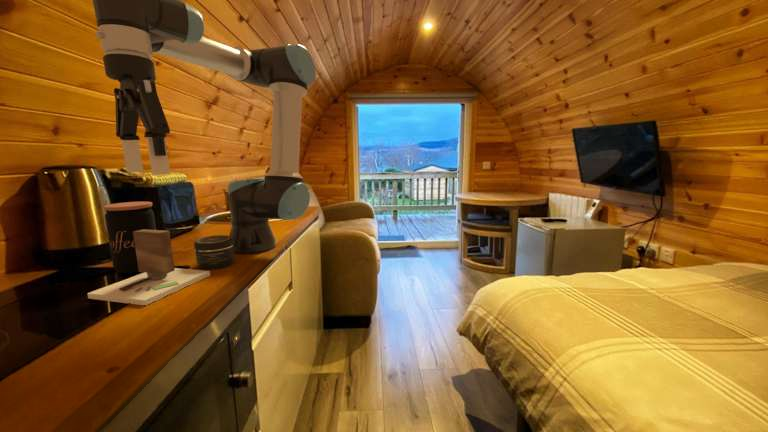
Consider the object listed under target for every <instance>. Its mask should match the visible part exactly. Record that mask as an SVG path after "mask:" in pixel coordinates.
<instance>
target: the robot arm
mask: <svg viewBox="0 0 768 432" xmlns="http://www.w3.org/2000/svg"><path fill="white" fill-rule="evenodd" d="M92 5H93V10H94V15H95V21H96V24H97V25H96V26H97V30H98V31H95V32H94V36H95V37H96V38H98V39H100V46H101V47H100V48H101V51H102V52H103V54H104V55H103V56H102V60H103V66H104V67H103V68H104V71H105V75H106V77H107V78H108V79H111V80H114V81H118V82H119V84H120V85H119V88H118V87H114V89H113V93H114V101H115V103H114V104H115V106H114V107H115V135H116V137H117V138H119V140H121V146H122V151H123V159H124V163H125V168H126V173H127V174H128V173H129V174H130V173H142V172H144V168H143V167H144V166H143V160H142V154H141V148H140V143H139V141H140V137H139V135H137V131H138V125H139V123H138V122H139V118H140V121H141V123H142V125H143V127H144V129H145V131H144V135H143V137H144V138H146V143H147V150H148V157H149V161H150V162H149V163H150V170H151V175H152V176H155V175H156V176H158V175H169V174H171V167H170V162H169V156H168V151H167V150H168V148H167V141H166V138H167V134H170V133H171V129H170V126H169V124H168V120H167V118H166V115H165V112H164V109H163V107H162V103H161V101H160V98H159V95H158V91H157V86H156V85H157V84H156V80H157V78H156V77H157V76H156V70H155V64H154V61H152V58H153V57H154V54H153V53H155V54H159V55H161V56H165V57H169V58H172V59H174V60H177V61H178V60H179V61H182V62H185V63H189V64H192V65H195V66H199V67H202V68H204V69H205V68H206V69H209V70H212V71H216V72H219V73H223V74H226V75H228V76H229V77H230V78H231V79H232V80H235V81H238V82H242V83H245V84H249V85H251V86H252V85H253V86H256V87H260V88H266V89H267V88H268V89H269V91H271V93H272V94H273V102H272V103H273V104H272V105H273V106H272V122H271V123H272V124H271V125H272V127H271V144H270V147H271V148H270V166H269V167H270V169H269V171H268V172H267V173H266V174H264V177H255V178H247V179H239V180H233V181H230V182H229V183H228V186H227V189H228V190H227V191H228V192H227V198H228V206H229V214H230V216H229V217H230V222H231V223H230V225H231V229H230V232H229V235H228V236H231V237H232V238H233V243H234V254H255V253H260V252H265V251H268V250H271V249H273V248H275V247H276V246H277V244H276V243H277V242H276V238H275V235H274V233H273V230H272V227H271V226H270V221H269V219H271V220H273V219H274V220H282V221H291V220H292V221H295V220H298V219H300V218H302V217H303V216H304V215H305V213H306V212H307V210H308V208H309V205H310V201H311V193H310V191H309V186H307V184H306V183H304V177H303V176H302V175H301V174H300V172H299V171H300V170H299V167H300V150H301V146H300V145H301V129H302V128H301V127H302V109H303V108H302V106H303V104H302V103H303V98H304V97H305V96H306V95H307V94H308V86H309V85H310V86H311V85H312V84H314V82H315V81H316V77H317V71H316V65H315V62H314V59H313V57H312V54H311V53H310V51H309V50H308V49H307V48H306V47H305V46H304V45H302V44H300V43H294V44H293V43H291V44H290V43H287V44H286V45H280V46H273V47H266V48H256V49H247V48H244V47H242V46H235V47H231V46H229V45H226V44H225V43H224V44H223V43H221V42H218V41H216V40H214V39H210V38H209V37H208V38H207V37H206V36H204V33H205V24H204V22H205V21H204V19H203V18H204V17H203V15H202V14H201V13H200V12H199V10H198V9H197V8H195V7H194V6H192V5H189V4H188V3H186V2H184V1H183V0H92Z"/></svg>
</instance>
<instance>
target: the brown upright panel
mask: <svg viewBox="0 0 768 432" xmlns="http://www.w3.org/2000/svg"><path fill="white" fill-rule="evenodd" d="M133 236H134V242H135V249H136V256H137V262H138V269H139V272H138V273H144V272H147V277H148V278H145V279H143V280H140V281H137V282H135V283H132V284H130V285H127V286H124V287H122V288H119V290H122V291H123V290H125V289H128V288H130V287H133V286H135V285H138V284H141V283H143V282H146V281H148V280H156V279H161V278H164V277H166V276H167V273H170V272H172V271H175V269H174V268H175V263H174V262H175V261H174V255H173V249H172V241H171V233H170V230H164V229H163V230H159V229H156V230H146V229H142V230H138V231H134V232H133Z"/></svg>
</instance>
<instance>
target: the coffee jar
mask: <svg viewBox="0 0 768 432" xmlns="http://www.w3.org/2000/svg"><path fill="white" fill-rule="evenodd" d="M152 207H153V202H152V201H128V202H117V203H110V204H104V205H103V211H105V212H106V213H105V214H104V220H105V225H106V232H107V239H108V243H109V249H110V257H111V261H112V267H113V269H114V270H115V271H116V272H117V273H120V274H134V273H140V272H139V269H138V262H137V256H136V249H135V242H134V236H133V232H134V231H138V230H142V229H146V230H157V226H156V225H157V224H156V220H155V219H156V218H155V211H154V210H153V209H152Z"/></svg>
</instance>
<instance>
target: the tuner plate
mask: <svg viewBox="0 0 768 432" xmlns="http://www.w3.org/2000/svg"><path fill="white" fill-rule="evenodd" d="M174 269H175V271H172V272H170V273H167V276H166V277H164V278H161V279H156V280H148V281H146V282H143V283H141V284H138V285H135V286H133V287H130V288H128V289H125V290H123V291H122V290H119V288H122V287H124V286H127V285H130V284H132V283H135V282H137V281H140V280H143V279H145V278H148V277H147V272H141V273H139V274H136V275H134V276H131V277H129V278H126V279H122V280H121V281H117V282H115V283H112V284H110V285H106V286H104V287H100V288H98V289H95V290H92V291H90V292H88V293H87V299H91V300H99V301H106V302H113V303H115V302H116V303H122V304H129V303H130V304H131V305H138V306H144V305H146V306H148V304H149V305H150V303H151V304H153V303H155V302H157V301H159V300H161V299H163V297H164V298H165V296H166V297H167V295H168V296H170V295H172V294H175V293H176V292H178V291H180V289H181V290H183V289H185V288H187V287H189V286H191V285H194V284H195V283H197V282H199V281H201V280H204V279H206V278H208V277H210V276H211V271H210V270H203V269H202V270H201V269H190V268H178V267H174ZM188 285H189V286H188ZM186 286H187V287H186ZM184 287H185V288H184ZM182 288H183V289H182ZM171 293H172V294H171ZM169 294H170V295H169ZM154 301H155V302H154ZM152 302H153V303H152Z"/></svg>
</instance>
